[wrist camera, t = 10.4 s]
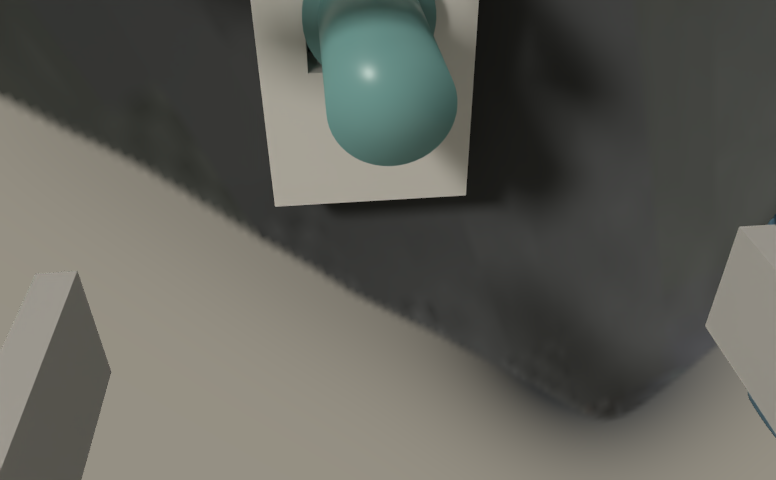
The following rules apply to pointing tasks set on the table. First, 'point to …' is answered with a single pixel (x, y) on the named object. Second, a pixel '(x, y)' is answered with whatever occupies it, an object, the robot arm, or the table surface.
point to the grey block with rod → (310, 126)
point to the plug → (382, 77)
